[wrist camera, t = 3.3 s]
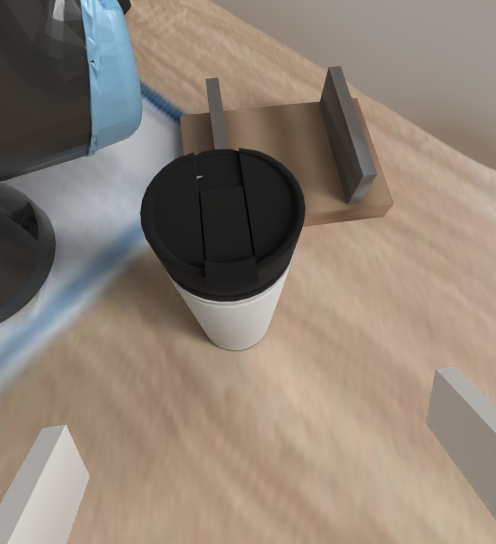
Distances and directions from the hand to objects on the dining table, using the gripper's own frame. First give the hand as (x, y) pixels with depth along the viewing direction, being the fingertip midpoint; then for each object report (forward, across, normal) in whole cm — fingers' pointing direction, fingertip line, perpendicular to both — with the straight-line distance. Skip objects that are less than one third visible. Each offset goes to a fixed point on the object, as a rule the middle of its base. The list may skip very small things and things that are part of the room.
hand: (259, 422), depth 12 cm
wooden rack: (+28, +6, +4) cm, 29 cm away
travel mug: (+17, 0, -7) cm, 19 cm away
